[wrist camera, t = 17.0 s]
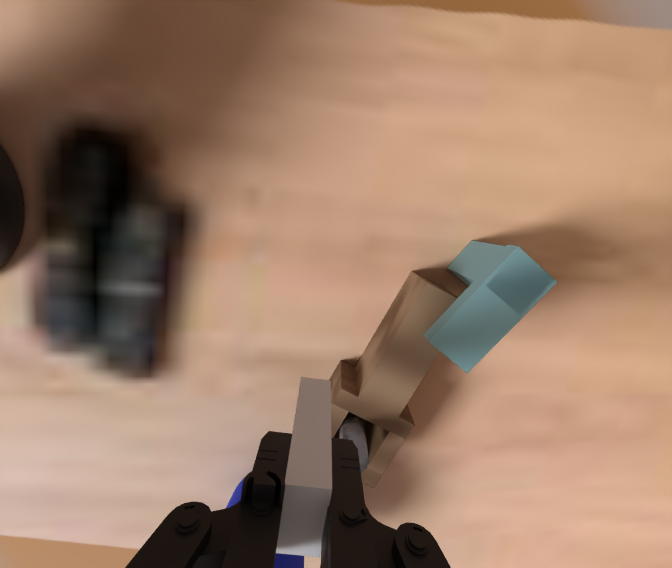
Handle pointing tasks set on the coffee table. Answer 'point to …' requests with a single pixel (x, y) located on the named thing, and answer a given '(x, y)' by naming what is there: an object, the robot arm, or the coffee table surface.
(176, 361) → the coffee table surface
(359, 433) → the rod
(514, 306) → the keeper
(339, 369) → the link
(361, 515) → the robot arm
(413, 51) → the coffee table surface
